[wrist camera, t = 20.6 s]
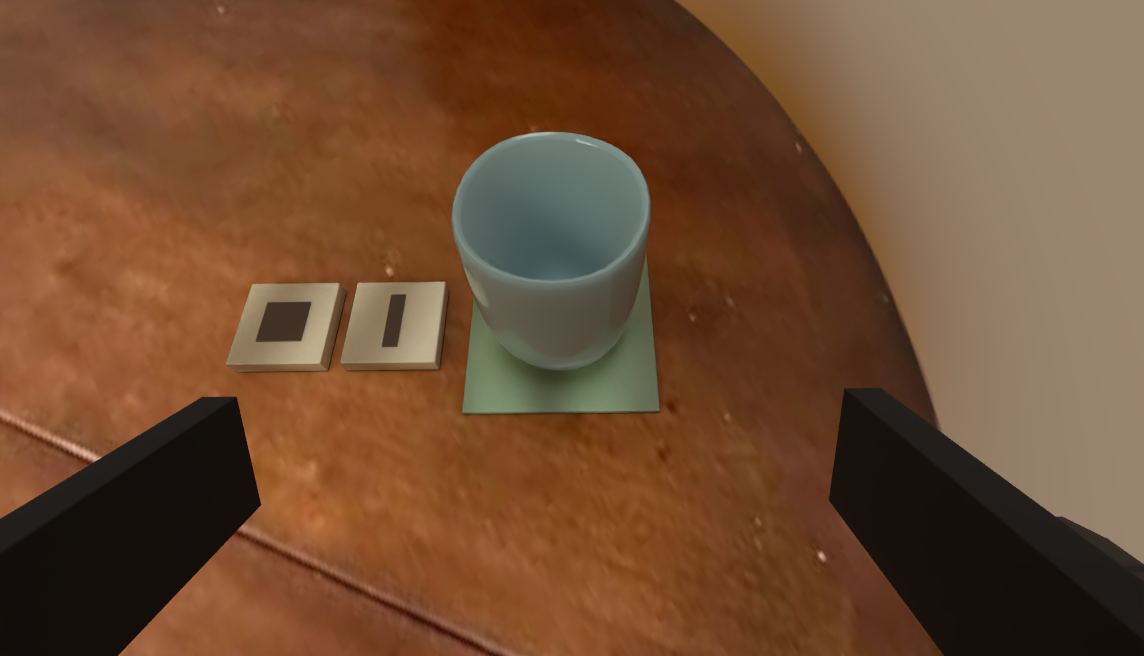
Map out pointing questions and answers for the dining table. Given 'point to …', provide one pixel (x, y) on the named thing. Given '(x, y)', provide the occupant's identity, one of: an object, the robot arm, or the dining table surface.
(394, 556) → the dining table surface
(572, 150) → the cup
